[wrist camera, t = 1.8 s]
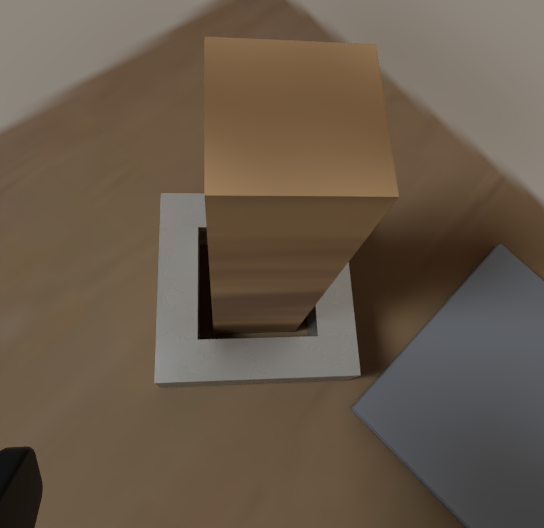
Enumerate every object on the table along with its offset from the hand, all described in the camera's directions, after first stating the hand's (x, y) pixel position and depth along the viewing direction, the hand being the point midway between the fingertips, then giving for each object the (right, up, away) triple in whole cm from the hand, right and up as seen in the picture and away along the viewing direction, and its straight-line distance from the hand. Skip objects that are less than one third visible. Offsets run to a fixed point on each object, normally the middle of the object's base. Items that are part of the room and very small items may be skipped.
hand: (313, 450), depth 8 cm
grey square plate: (+10, -3, +13) cm, 17 cm away
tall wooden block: (-2, +2, +13) cm, 14 cm away
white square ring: (-2, +2, +13) cm, 14 cm away
